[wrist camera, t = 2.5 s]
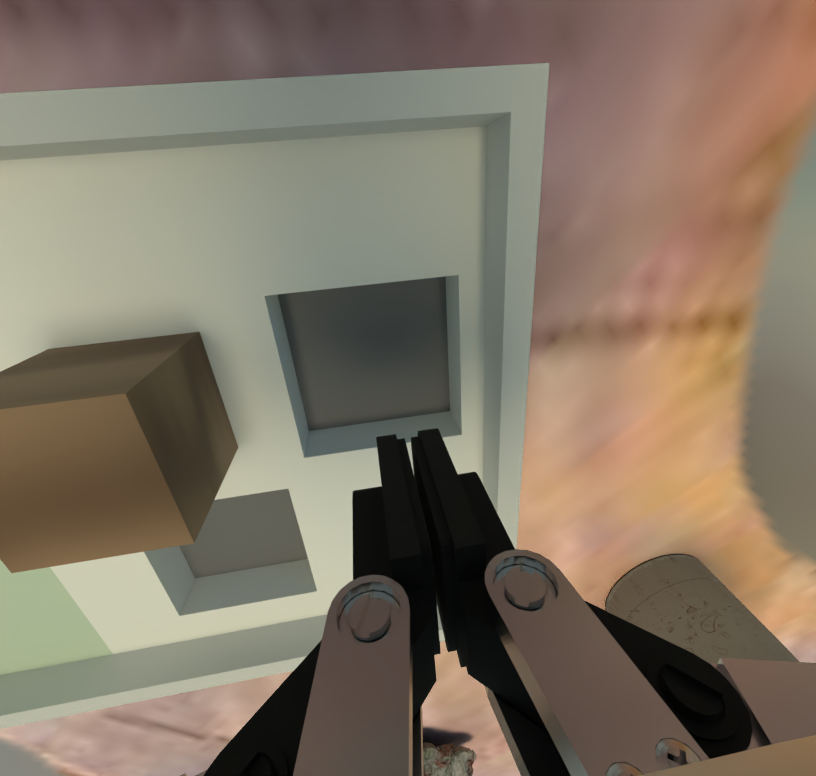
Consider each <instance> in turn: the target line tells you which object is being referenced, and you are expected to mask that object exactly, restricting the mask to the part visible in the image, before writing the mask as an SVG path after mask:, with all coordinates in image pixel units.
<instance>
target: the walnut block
mask: <svg viewBox="0 0 816 776" xmlns="http://www.w3.org/2000/svg"><path fill="white" fill-rule="evenodd" d="M237 449H238V445H237V442H236V439H235V436H234V433H233V430H232V427H231V424H230V421H229V418H228V415H227V412H226V409H225V406H224V403H223V400H222V397H221V394H220V391H219V388H218V385H217V382H216V379H215V376H214V373H213V370H212V367H211V364H210V361H209V359H208V356H207V353H206V350H205V347H204V344H203V341H202V338H201V335H200V332H192V333H183V334H175V335H166V336H157V337H148V338H140V339H131V340H122V341H113V342H105V343H96V344H87V345H78V346H70V347H61V348H52V349H47V350H45V351H43V352H41V353H39V354H37V355H35V356H33V357H30V358H28V359H26V360H24V361H22V362H20V363H18V364H16V365H13V366H11V367H9V368H7V369H5V370H3V371H1V372H0V560H1V561H2V562H3V563H4V565H5V566H6V567H7V568H8V570H9V571H10V572H11V573H16V572H22V571H29V570H35V569H41V568H47V567H53V566H59V565H65V564H71V563H77V562H83V561H90V560H96V559H102V558H108V557H114V556H120V555H126V554H132V553H138V552H145V551H151V550H157V549H163V548H169V547H175V546H181V545H187V544H193V543H195V541H196V539H197V536H198V534H199V532H200V530H201V528H202V526H203V523H204V521H205V519H206V517H207V515H208V512H209V510H210V508H211V506H212V504H213V502H214V499H215V497H216V495H217V493H218V491H219V489H220V486H221V484H222V482H223V480H224V478H225V475H226V473H227V471H228V469H229V467H230V465H231V462H232V460H233V458H234V456H235V454H236V451H237Z"/></svg>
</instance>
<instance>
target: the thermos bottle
mask: <svg viewBox="0 0 816 776" xmlns="http://www.w3.org/2000/svg"><path fill="white" fill-rule="evenodd" d="M606 611H607V612H609V613H611V614H613V615H615V616H617V617H619V618H621V619H623V620H625V621H627V622H630V623H632V624H634V625H636V626H638V627H640V628H642V629H644V630H646V631H648V632H650V633H652V634H654V635H656V636H658V637H660V638H662V639H665V640H667V641H669V642H671V643H673V644H675V645H677V646H679V647H681V648H683V649H685V650H687V651H689V652H691V653H693V654H695V655H697V656H698V657H700V658H701V659H703V660H705V661H706V662H708V663H713V664H717V663H718V661H719V659H720V658H734V659H752V660H770V661H787V662H799V661H798V660H797V659H796V658H795V657H794V656H793V655H792V653H791V652H790V651H789V650H788V649H787V648H786V647H785V646H784V645H783V644H782V643H781V642H780V641H779V640H778V639H777V638H776V637H775V636H774V635H773V634H772V633H771V632H770V631H769V630H768V629H767V628H766V627H765V626H764V625H763V624H762V623H761V622H760V621H759V620H758V619H757V618H756V617H755V616H754V615H753V614H752V613H751V612H750V611H749V610H748V609H747V608H746V607H745V606H744V605H743V604H742V603H741V602H740V601H739V600H738V599H737V598H736V597H735V596H734V595H733V594H732V593H731V592H730V591H729V590H728V589H727V588H726V587H725V586H724V585H723V584H722V583H721V582H720V581H719V580H718V579H717V578H716V577H715V576H714V575H713V574H712V573H711V572H710V571H709V570H708V569H707V568H706V567H705V566H704V565H703V564H702V563H701V562H700V561H699V560H698V559H696V558H693V557H691V556H688V555H668V556H663V557H659V558H656V559H653V560H650V561H648V562H646V563H644V564H641V565H640V566H638V567H636V568H635V569H633V570H631V571H630V572H629V573H628V574H626V575H625V576H624V577H623V578H622V579H621V580H620V581H619V582H617V584H616V585H615V586H614V587H613V589H612V590H611V592H610V594H609V596H608V598H607V602H606Z"/></svg>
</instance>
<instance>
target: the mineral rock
mask: <svg viewBox="0 0 816 776" xmlns="http://www.w3.org/2000/svg"><path fill="white" fill-rule="evenodd" d="M475 759H476V754H475V752H474V751H473V750H472V751H471V750H470V749H469V748H466V747H463V746H454V744H453V743H449V744H445V745H441V746H434V745H433V744H431V743H425V742H424V743H423V772H424V776H472V774H473V768H472V764H473V762H474V760H475Z"/></svg>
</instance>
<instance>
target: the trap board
mask: <svg viewBox="0 0 816 776" xmlns="http://www.w3.org/2000/svg"><path fill="white" fill-rule="evenodd" d="M548 76H549V63H538V64H520V65H502V66H484V67H466V68H448V69H430V70H412V71H394V72H376V73H358V74H340V75H322V76H304V77H286V78H268V79H250V80H232V81H214V82H196V83H178V84H160V85H142V86H124V87H106V88H88V89H70V90H52V91H34V92H17V93H0V372H1V371H3V370H5V369H7V368H9V367H11V366H13V365H16V364H18V363H20V362H22V361H24V360H26V359H28V358H30V357H33V356H35V355H37V354H39V353H41V352H43V351H45V350H47V349H52V348H61V347H70V346H78V345H87V344H96V343H105V342H113V341H122V340H131V339H140V338H148V337H157V336H166V335H175V334H183V333H192V332H200V335H201V338H202V341H203V344H204V347H205V350H206V353H207V356H208V359H209V361H210V364H211V367H212V370H213V373H214V376H215V379H216V382H217V385H218V388H219V391H220V394H221V397H222V400H223V403H224V406H225V409H226V412H227V415H228V418H229V421H230V424H231V427H232V430H233V433H234V436H235V439H236V442H237V445H238V449H237V451H236V454H235V456H234V458H233V460H232V462H231V465H230V467H229V469H228V471H227V473H226V475H225V478H224V480H223V482H222V484H221V486H220V489H219V491H218V493H217V495H216V497H215V499H214V502H213V504H212V506H211V508H210V510H209V512H208V515H207V517H206V519H205V521H204V523H203V526H202V528H201V530H200V532H199V534H198V536H197V539H196V541H195V543H193V544H187V545H181V546H175V547H169V548H163V549H157V550H151V551H145V552H138V553H132V554H126V555H120V556H114V557H108V558H102V559H96V560H90V561H83V562H77V563H71V564H65V565H59V566H53V567H47V568H41V569H35V570H29V571H22V572H16V573H11V572H10V571H9V570H8V568H7V567H6V566H5V565H4V563H3V562H2V561H1V560H0V729H2V728H7V727H12V726H17V725H22V724H27V723H33V722H38V721H43V720H48V719H53V718H58V717H63V716H68V715H73V714H78V713H83V712H88V711H93V710H98V709H103V708H108V707H113V706H118V705H123V704H128V703H133V702H138V701H143V700H148V699H153V698H159V697H164V696H169V695H174V694H179V693H184V692H189V691H194V690H199V689H204V688H209V687H214V686H219V685H224V684H229V683H234V682H239V681H244V680H249V679H254V678H259V677H264V676H269V675H274V674H279V673H285V672H290V671H294V670H295V669H296V668H297V667H298V665H299V664H300V663H301V662H302V661H303V660H304V659H305V658H306V657H307V655H308V654H309V653H310V652H311V651H312V650H313V649H314V648H315V647H316V645H317V644H318V643H319V642H320V641H321V640H322V637H323V632H324V627H325V623H326V618H327V613H328V610H329V608H330V605H331V602H332V600H333V599H334V597H335V596H336V595H337V593H338V592H339V590H340V589H342V588H343V587H344V586H345V585H347V584H348V583H349V582H351V581H353V509H352V495H353V491H355V490H361V489H367V488H374V487H380V486H382V484H381V476H380V467H379V459H378V450H377V441H376V437H379V436H386V435H393V434H396V436H397V439H403V438H405V441H406V445H407V449H408V453H409V458H410V462H411V466H412V470H413V459H412V449H411V437H416V436H418V431H421V430H427V429H434V428H438V429H439V431H440V434H441V436H442V438H443V441H444V443H445V445H446V448H447V450H448V453H449V455H450V457H451V460H452V462H453V465H454V467H455V469H456V472H457V474H463V473H469V472H476V473H477V474H478V476H479V478H480V480H481V482H482V484H483V486H484V488H485V490H486V492H487V494H488V496H489V498H490V500H491V502H492V504H493V506H494V508H495V510H496V512H497V514H498V516H499V518H500V520H501V522H502V524H503V526H504V528H505V530H506V532H507V534H508V536H509V538H510V540H511V542H512V544H513V546H514V548H515V549H516V548H517V533H518V518H519V503H520V489H521V474H522V459H523V444H524V430H525V415H526V400H527V386H528V371H529V356H530V341H531V327H532V312H533V297H534V283H535V268H536V253H537V238H538V224H539V209H540V194H541V180H542V165H543V150H544V135H545V121H546V106H547V91H548ZM413 474H414V470H413ZM437 614H438V627H439V640H440V642H441V641H445V638H444V633H443V629H442V624H441V620H440V616H439V611H438V607H437Z"/></svg>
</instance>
